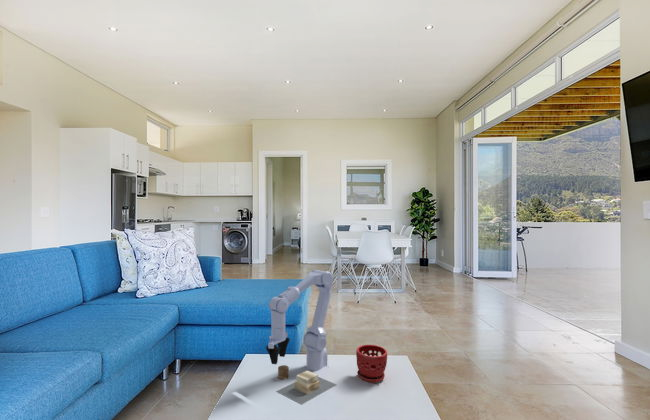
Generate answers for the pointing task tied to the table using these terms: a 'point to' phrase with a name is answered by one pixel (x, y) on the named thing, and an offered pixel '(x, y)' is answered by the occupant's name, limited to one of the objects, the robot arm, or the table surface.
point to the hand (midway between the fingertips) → (278, 360)
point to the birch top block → (307, 378)
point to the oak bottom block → (307, 389)
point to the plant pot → (371, 363)
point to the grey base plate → (302, 397)
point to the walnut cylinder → (283, 372)
